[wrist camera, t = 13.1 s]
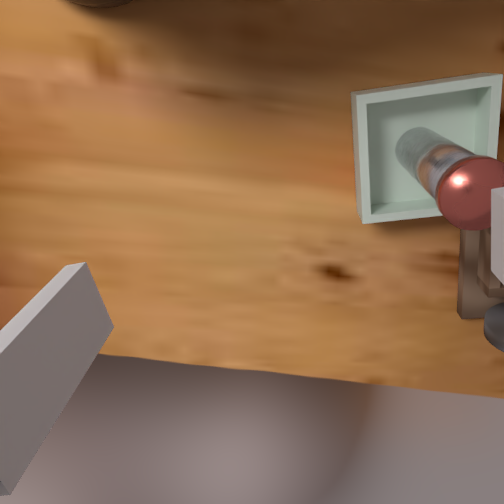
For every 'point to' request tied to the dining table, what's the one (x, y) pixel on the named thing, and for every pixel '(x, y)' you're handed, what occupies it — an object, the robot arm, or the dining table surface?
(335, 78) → the dining table surface
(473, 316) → the block
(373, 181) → the tray
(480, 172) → the pin
